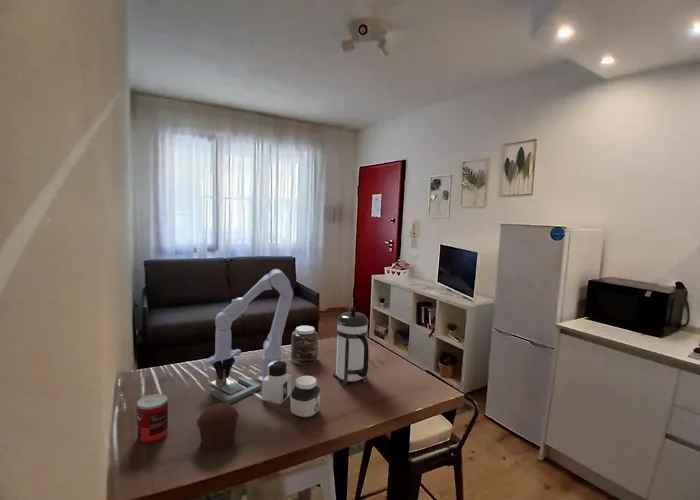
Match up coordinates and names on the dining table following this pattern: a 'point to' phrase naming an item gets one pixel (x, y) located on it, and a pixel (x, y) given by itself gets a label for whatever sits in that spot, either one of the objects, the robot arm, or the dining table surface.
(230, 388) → the tile
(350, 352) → the coffee press
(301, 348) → the jar
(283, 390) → the container
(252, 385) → the tile frame
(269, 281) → the robot arm
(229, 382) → the trowel
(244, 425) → the dining table surface
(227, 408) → the muffin
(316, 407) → the spread jar
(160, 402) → the canned food
